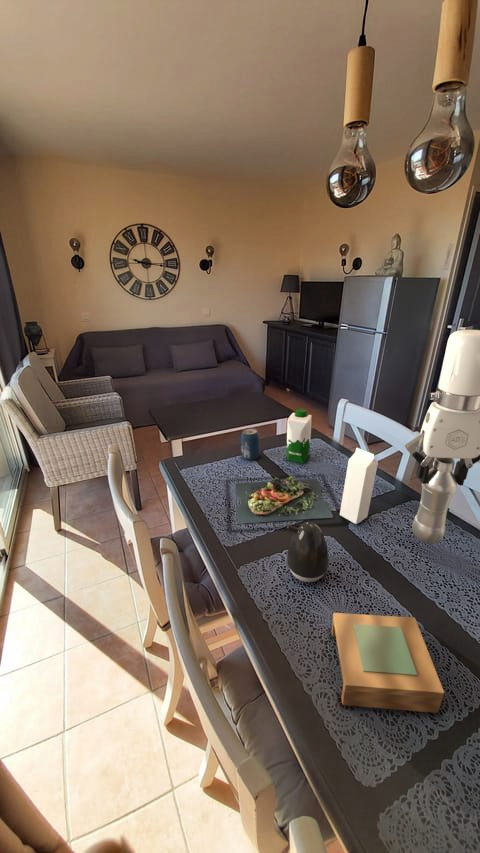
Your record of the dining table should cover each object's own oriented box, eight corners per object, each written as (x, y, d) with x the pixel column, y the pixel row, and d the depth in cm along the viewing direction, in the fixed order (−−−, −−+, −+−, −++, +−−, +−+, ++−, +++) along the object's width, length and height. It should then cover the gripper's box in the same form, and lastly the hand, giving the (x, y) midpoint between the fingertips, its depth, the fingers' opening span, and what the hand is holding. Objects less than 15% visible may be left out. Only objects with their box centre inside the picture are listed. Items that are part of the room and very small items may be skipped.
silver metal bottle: (443, 533, 81) (464, 456, 73) (440, 552, 76) (462, 471, 68) (412, 524, 85) (429, 448, 76) (408, 541, 79) (424, 462, 71)
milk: (356, 524, 106) (368, 457, 98) (339, 515, 111) (349, 449, 103) (367, 517, 110) (380, 452, 102) (350, 508, 114) (361, 444, 106)
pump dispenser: (286, 556, 96) (287, 509, 90) (326, 559, 95) (330, 512, 89) (284, 586, 87) (285, 537, 81) (328, 591, 86) (333, 541, 79)
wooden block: (410, 637, 74) (415, 616, 72) (437, 714, 62) (444, 692, 59) (331, 632, 76) (333, 611, 74) (342, 706, 63) (345, 684, 61)
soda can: (258, 453, 150) (257, 426, 145) (259, 461, 143) (259, 434, 138) (241, 454, 149) (240, 427, 144) (242, 462, 143) (241, 435, 138)
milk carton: (311, 455, 147) (313, 409, 138) (305, 466, 139) (308, 418, 131) (290, 451, 150) (291, 407, 142) (283, 462, 142) (285, 415, 134)
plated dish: (230, 533, 105) (229, 513, 102) (226, 482, 131) (225, 464, 128) (347, 526, 107) (350, 505, 104) (320, 477, 133) (322, 459, 130)
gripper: (416, 405, 65) (400, 489, 72) (521, 407, 63) (494, 493, 70) (404, 392, 71) (391, 470, 79) (498, 393, 69) (475, 473, 77)
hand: (439, 480), depth 74 cm, fingers closed on silver metal bottle, 6 cm apart
